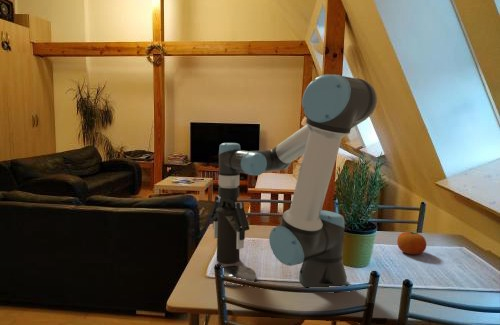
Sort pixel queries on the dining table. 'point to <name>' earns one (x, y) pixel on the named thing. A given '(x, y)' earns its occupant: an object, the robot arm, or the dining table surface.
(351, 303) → the dining table surface
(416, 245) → the fruit
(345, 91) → the robot arm
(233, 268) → the flange plate
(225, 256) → the container
